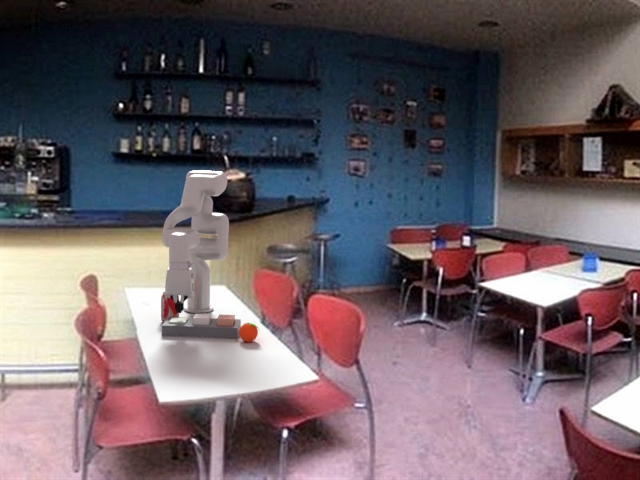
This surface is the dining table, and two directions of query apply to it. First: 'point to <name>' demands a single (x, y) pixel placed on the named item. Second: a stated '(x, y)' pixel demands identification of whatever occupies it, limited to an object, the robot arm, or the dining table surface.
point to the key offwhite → (202, 319)
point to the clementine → (248, 332)
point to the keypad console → (200, 329)
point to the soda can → (167, 308)
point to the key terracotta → (226, 320)
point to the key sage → (178, 321)
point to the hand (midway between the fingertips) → (179, 312)
